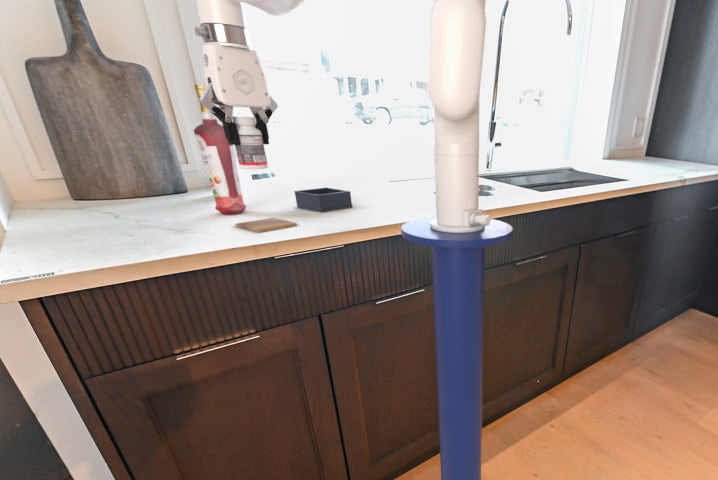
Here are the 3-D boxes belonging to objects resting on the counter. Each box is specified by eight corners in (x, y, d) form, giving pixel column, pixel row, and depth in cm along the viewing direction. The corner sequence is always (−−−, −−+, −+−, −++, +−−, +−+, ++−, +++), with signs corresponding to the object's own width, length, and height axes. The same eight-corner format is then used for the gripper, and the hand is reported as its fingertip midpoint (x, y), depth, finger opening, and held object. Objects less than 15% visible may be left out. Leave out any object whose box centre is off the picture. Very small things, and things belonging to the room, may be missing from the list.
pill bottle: (240, 167, 91) (229, 116, 87) (268, 167, 94) (258, 117, 89) (239, 169, 87) (227, 116, 83) (268, 169, 89) (258, 117, 85)
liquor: (254, 212, 109) (226, 86, 96) (224, 216, 103) (191, 83, 91) (239, 209, 112) (210, 86, 100) (209, 212, 107) (175, 84, 94)
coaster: (296, 225, 97) (296, 222, 97) (258, 232, 90) (258, 229, 90) (273, 220, 101) (273, 217, 101) (235, 226, 94) (235, 223, 94)
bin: (352, 207, 119) (350, 191, 118) (321, 212, 112) (318, 195, 110) (328, 202, 124) (326, 187, 122) (297, 207, 117) (294, 191, 115)
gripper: (187, 29, 72) (215, 146, 80) (281, 45, 85) (297, 144, 93) (166, 32, 75) (195, 144, 84) (259, 47, 89) (277, 142, 97)
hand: (249, 143), depth 88 cm, fingers closed on pill bottle, 5 cm apart
